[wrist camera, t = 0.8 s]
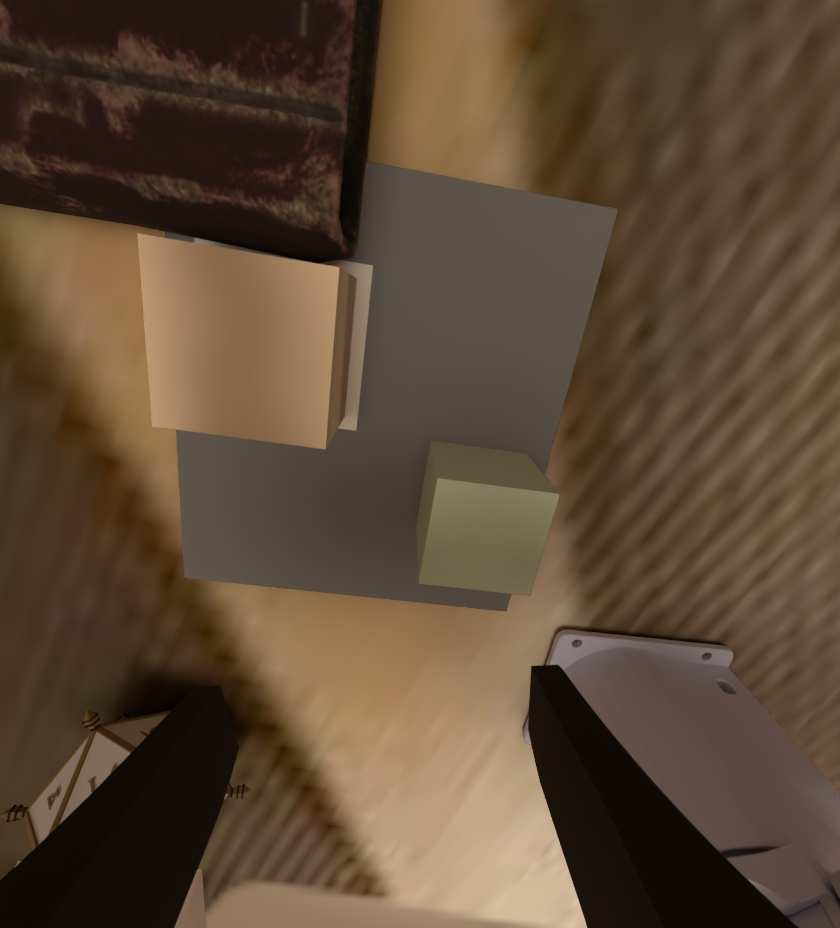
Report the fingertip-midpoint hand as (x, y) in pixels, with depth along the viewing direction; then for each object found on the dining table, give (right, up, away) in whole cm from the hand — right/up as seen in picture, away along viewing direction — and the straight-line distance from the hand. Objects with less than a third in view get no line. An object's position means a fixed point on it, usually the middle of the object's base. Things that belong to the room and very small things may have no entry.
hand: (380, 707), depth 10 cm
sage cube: (+3, +5, +8) cm, 10 cm away
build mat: (-1, +8, +7) cm, 11 cm away
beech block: (-4, +10, +5) cm, 12 cm away
